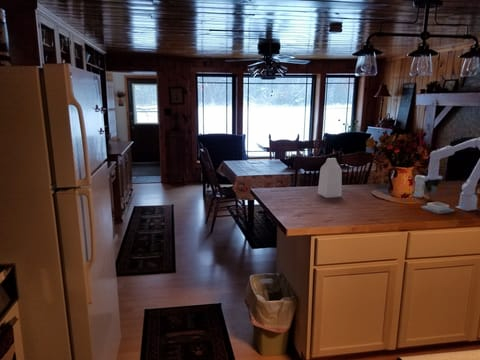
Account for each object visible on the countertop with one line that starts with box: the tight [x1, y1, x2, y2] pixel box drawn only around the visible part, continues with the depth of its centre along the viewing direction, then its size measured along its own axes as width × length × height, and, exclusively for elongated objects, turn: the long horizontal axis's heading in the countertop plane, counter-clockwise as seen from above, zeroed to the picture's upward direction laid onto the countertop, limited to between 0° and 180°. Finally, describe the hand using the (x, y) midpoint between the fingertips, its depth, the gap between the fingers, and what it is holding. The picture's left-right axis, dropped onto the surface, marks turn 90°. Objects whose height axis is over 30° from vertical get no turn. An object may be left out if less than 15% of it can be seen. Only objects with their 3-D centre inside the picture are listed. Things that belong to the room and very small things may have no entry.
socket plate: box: [420, 201, 456, 215], centre depth 223 cm, size 13×13×4 cm
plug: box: [425, 185, 438, 195], centre depth 232 cm, size 4×4×5 cm
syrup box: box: [412, 174, 427, 199], centre depth 252 cm, size 6×6×14 cm
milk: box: [317, 157, 343, 199], centre depth 254 cm, size 12×12×26 cm
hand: (431, 191), depth 233 cm, fingers closed on plug, 4 cm apart
